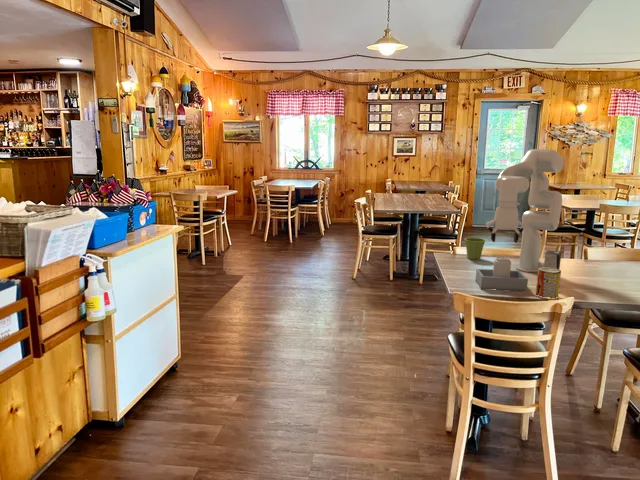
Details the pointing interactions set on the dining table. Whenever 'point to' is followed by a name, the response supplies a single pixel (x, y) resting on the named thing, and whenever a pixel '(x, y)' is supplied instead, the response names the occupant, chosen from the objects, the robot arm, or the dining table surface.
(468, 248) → the plant pot
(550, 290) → the beverage can
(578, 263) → the dining table surface
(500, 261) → the can
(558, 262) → the coffee box
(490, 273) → the bin
